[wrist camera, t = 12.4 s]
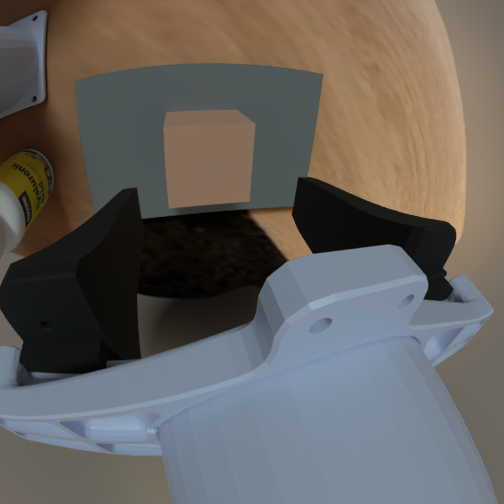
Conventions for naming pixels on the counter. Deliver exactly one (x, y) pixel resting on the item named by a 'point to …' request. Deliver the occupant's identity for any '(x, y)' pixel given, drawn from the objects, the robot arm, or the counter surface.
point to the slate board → (192, 99)
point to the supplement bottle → (22, 194)
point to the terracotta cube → (208, 157)
